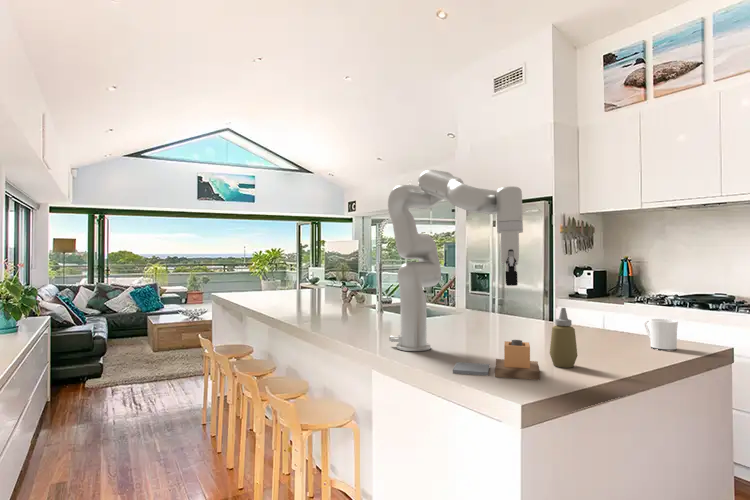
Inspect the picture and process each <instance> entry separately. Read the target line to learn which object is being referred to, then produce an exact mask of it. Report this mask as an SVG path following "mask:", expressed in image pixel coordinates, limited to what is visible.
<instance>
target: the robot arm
mask: <svg viewBox="0 0 750 500" xmlns="http://www.w3.org/2000/svg"><path fill="white" fill-rule="evenodd" d="M417 183H418V184H417V185H413V184H399V185H396V186H395V187H394V188H393V189H392V190H390V192H389V195H388V198H387V209H388V213H389V216H390V220H391V222H392V227H393V234H394V239H395V245H396V250H397V254H398V255H399V257H400V258H402V259H405V260H418V261H409V262H405V263H403V264H402V265H400V267H399V269H398V270H397V282H398V287H399V295H400V296H399V301H400V302H399V303H400V307H399V308H400V312H399V313H400V317H399V318H400V335H397V336H395V335H389V338H388V341H389V342H391V343H396V344H395V345H396V346H395V347H396V349H397V350H400V351H405V352H423V351H424V352H425V351H429V350H430V349H431V348H432V345H431V344H430V343H427V296H426V294H425V292H424V289H423V288H430V287H435V286H437V284H439V283H440V282H441V277H442V269H441V263H440V259H439V252H438V248H437V244H436V241H435V240H434V238H433V237H432V236H431V235H429V234H426V233H419V232H418V229H417V223H416V220H415V218H414V216H413V214H412V213H411V212H410V209H417V210H428V209H431V208H432V207H434V206H436V204H438V203H440V202H441V201H443V200H445V201H446V202H449V203H450V204H451V205H453V206H455V207H457V208H460V209H462V210H464V211H467V212H470V213H475V214H488V215H496V234H500V262H501V263H500V265H501V266H505V285H506V286H507V287H513V286H518V271H517V266H518V264H519V257H520V233H524V225H523V224H524V222H523V220H524V219H523V216H524V215H523V194H522V189H521V188H520V187H518V186H504V187H503V186H502V187H499V188H498V189H497V190H495V189H486V188H480V187H479V188H478V187H474V186H471V185H468V184H465V182H464V181H463V180H462V178H461V177H458V176H454V175H453V174H452V173H450V172H448V171H443V170H437V169H426V170H424V171H422V172H421V173H420V175H419V176H418V180H417ZM504 264H505V265H504Z"/></svg>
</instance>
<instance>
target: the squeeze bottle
mask: <svg viewBox="0 0 750 500" xmlns="http://www.w3.org/2000/svg"><path fill="white" fill-rule="evenodd" d="M572 325H573V323H572V319H569V318H568V314H567V310H566V308H565V307H561V308H560V312H559V317H558V318H555V325H554V326H552V327H551V328H552V329H551V334H550V335H551V337H550V344H549V345H550V347H549V355H550V360H551V362H552V365H553V366H555V367H558V368H563V369H565V368H566V369H567V368H569V369H570V368H573V367H574V366H575V365H576V364H575V363H576V361H577V358H578V348H577V339H576V338H577V337H576V336H577V335H576V329H575V328H574V327H573V326H572Z"/></svg>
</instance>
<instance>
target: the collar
mask: <svg viewBox="0 0 750 500" xmlns="http://www.w3.org/2000/svg"><path fill="white" fill-rule="evenodd" d="M503 344H504V348H503V349H504V354H503V355H504V367H517V368H530V361H531V345H530V342H525V341H524V342H523V341H522V346H514V345H512V341H504V343H503Z"/></svg>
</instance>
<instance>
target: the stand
mask: <svg viewBox="0 0 750 500" xmlns="http://www.w3.org/2000/svg"><path fill="white" fill-rule="evenodd" d="M511 342H512V345H514V346H522V342H523V340H521V339H511ZM494 371H495V372H494V373H495V374H494V377H495V378H502V377H503V378H504V379H505V378H506V379H519V380H520V379H521V380H535V381H540V380H541V369H540V365H539V361H536V360H530V368H517V367H504V359H503V358H496V360H495V367H494ZM503 378H502V379H503Z"/></svg>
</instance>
